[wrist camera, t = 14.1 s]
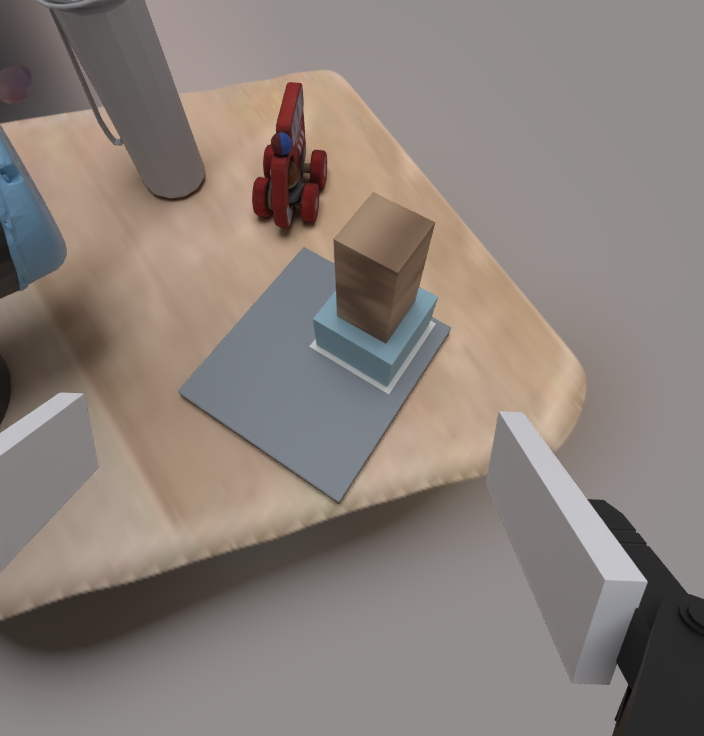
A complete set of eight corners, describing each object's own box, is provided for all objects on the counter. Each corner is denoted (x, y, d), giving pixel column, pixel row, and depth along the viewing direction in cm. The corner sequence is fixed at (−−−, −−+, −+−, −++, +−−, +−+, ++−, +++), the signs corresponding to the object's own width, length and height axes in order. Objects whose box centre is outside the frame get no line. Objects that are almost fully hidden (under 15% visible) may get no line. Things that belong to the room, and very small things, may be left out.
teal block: (316, 345, 44) (312, 318, 39) (361, 287, 46) (362, 256, 42) (387, 387, 42) (391, 365, 37) (429, 324, 45) (438, 297, 40)
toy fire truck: (252, 235, 51) (230, 158, 41) (275, 157, 56) (260, 72, 46) (312, 242, 51) (304, 166, 41) (330, 163, 56) (327, 79, 46)
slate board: (181, 396, 43) (177, 391, 42) (304, 254, 50) (303, 246, 49) (339, 503, 39) (338, 501, 38) (448, 333, 46) (451, 327, 45)
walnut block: (336, 315, 39) (333, 239, 30) (367, 276, 41) (372, 192, 32) (386, 344, 38) (398, 272, 29) (415, 301, 40) (435, 222, 31)
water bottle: (212, 157, 56) (118, -130, 33) (201, 205, 52) (88, -75, 30) (138, 154, 56) (-7, -134, 33) (123, 203, 53) (-50, -79, 30)
